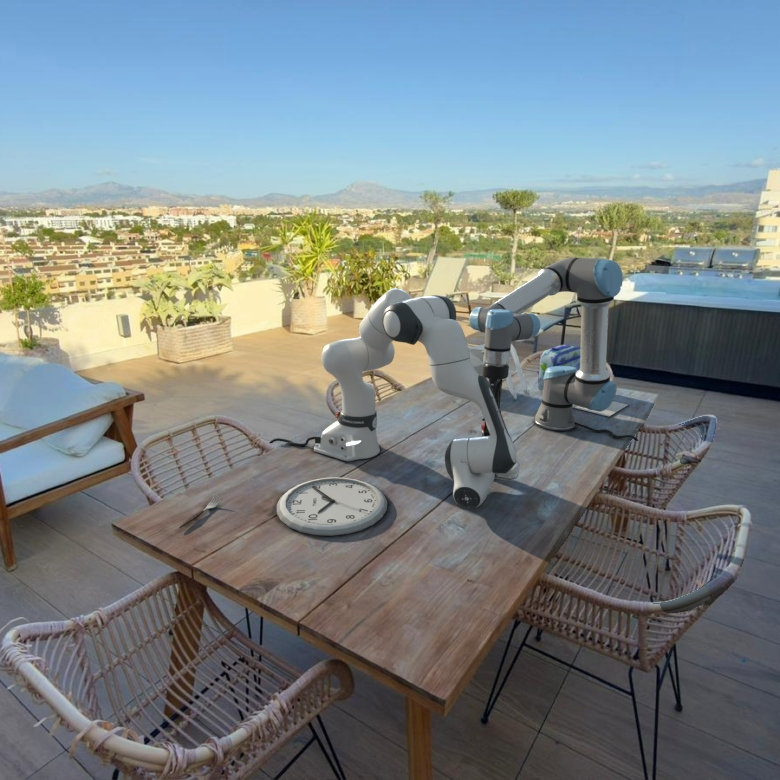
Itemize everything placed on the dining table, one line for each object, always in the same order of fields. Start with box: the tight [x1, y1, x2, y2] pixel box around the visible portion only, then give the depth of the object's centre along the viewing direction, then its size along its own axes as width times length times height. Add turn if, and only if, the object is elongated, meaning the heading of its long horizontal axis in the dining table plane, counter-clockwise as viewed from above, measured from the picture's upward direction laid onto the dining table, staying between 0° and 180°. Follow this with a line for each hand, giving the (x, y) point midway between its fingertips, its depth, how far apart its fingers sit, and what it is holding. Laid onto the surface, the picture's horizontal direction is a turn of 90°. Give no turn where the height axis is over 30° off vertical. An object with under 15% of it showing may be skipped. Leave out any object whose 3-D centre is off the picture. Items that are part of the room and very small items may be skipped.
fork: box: [178, 493, 223, 529], centre depth 137 cm, size 3×16×2 cm, turn 160°
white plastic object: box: [468, 343, 531, 400], centre depth 245 cm, size 37×45×31 cm
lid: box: [481, 421, 485, 431], centre depth 158 cm, size 6×6×2 cm
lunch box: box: [537, 344, 581, 391], centre depth 246 cm, size 26×11×21 cm, turn 134°
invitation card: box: [573, 400, 629, 418], centre depth 226 cm, size 21×1×15 cm
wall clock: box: [276, 476, 388, 537], centre depth 142 cm, size 30×2×30 cm
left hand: (489, 454), depth 162 cm, fingers closed on jar, 5 cm apart
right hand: (490, 437), depth 159 cm, fingers closed on lid, 5 cm apart
